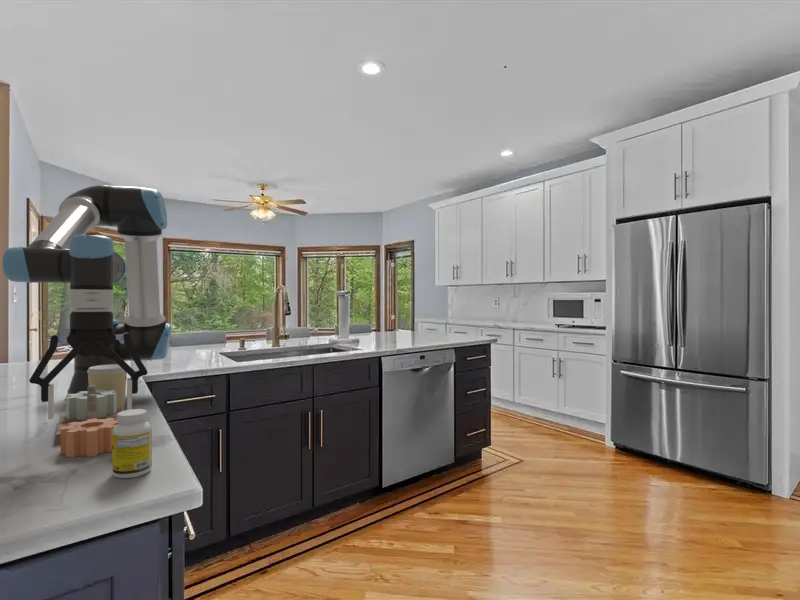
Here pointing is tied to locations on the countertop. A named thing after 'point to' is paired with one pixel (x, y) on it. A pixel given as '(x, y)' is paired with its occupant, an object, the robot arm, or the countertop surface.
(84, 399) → the gear
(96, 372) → the coffee cup
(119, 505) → the countertop surface
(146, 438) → the pill bottle
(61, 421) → the gear board
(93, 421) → the rust gear
